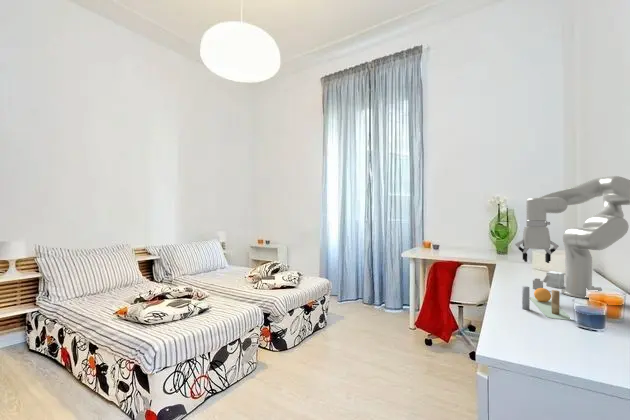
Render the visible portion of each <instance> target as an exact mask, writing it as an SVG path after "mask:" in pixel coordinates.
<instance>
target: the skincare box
mask: <svg viewBox="0 0 630 420" xmlns="http://www.w3.org/2000/svg"><path fill="white" fill-rule="evenodd" d="M545 274H546V275H547V274H548V275H550V277H549V279H548V280H547V282H546V283H545V284H546V285H545V286H546V287H551V288H555V289H556V288H557V289H561V288H564V287H565V272H560V271H554V270H550V271H547V272H546V273H545ZM546 275H545V276H546Z"/></svg>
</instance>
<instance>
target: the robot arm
mask: <svg viewBox="0 0 630 420" xmlns="http://www.w3.org/2000/svg"><path fill="white" fill-rule="evenodd" d="M600 197H602V201H603V202H602V203H603V205H602V208H601V209H600V210H599V211H597V212H596V213H595V214H593V215H591V216H590V217H588V218H587V219H586V220H585V221H584V222H583V224H582V227H571V228H568V229H566V230H565V231H564V233H563V234H562V241H563V246H564V252H565V272H564V287H565V288H564V289H561V294H562V295H565V296H569V297H575V298H582V299H586V298H585V296H586V288H587V289H588V290H598V291H597V292H602V291H603V288H602V287H601V286H597V287H596V286H594V285H593V257H592V254H591V252H590V250H591V251H602V250H605V249H607V248H609V247H611V246H612V245H613V244H615V243H616V242H617V241H620V240H621V239H622V238H623V237H624V236H625V235H627V233H628V231H629V226H630V225H629V222H628V221H627V220H626V218H624V216H625V214H624V211H623V207H622V206H630V179H628V178H626V177H622V176H617V175H614V176H613V175H612V176H605V177H597V178H592V179H591V180H588V181H586V182H583V183H580V184H578V185H575V186H573V187H569V188H565V189H562V190H559V191H554V192H550V193H547V194H544V195H542V196H540V197H529V198H528V199H526V226H524V228H523V231H522V232H523V233H522V239H521V240H519V241H518V242H516V243H514V245H515V246H516V248H517V249H518V250H519V251H520V253H522V260H523V261H524V262H525V263H528V253H527V252H528V251H529V249H531V250H532V249H533V250H544V251H545V252H546V253H545V254H544V255H545V257H544V258H545V260H544V261H545V263H547V264H550V262H551V261H552V260H551V259H552V257H551V255H552V254H553V253H554V252H556V250H558V248H559V244H556V243H555V242H553V241H552V240H551V236H550V229H549V227H548V226H550V225H551V221H548V220H547V214H560V213H563V212H565V211H566V210H567V209H568V206H573V205H574V206H575V205H581V204H584V203H587V202H590V201H592V200H595V199H597V198H600ZM521 245H522V247H523V248H522V247H521ZM551 246H552V247H551Z"/></svg>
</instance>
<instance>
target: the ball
mask: <svg viewBox="0 0 630 420" xmlns="http://www.w3.org/2000/svg"><path fill="white" fill-rule="evenodd" d="M533 297H534V298H536V299H537V300H538V301H540V302H547V301H549V300H552V292H550V291H549V290H548V289H547V288H544V287H543V288H538V289H534V292H533Z"/></svg>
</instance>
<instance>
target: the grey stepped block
mask: <svg viewBox="0 0 630 420" xmlns="http://www.w3.org/2000/svg"><path fill="white" fill-rule="evenodd" d="M549 277H550V275H548V274H547V275H545V276H544V279H543V280H541V278H534V279H532V289H533V290H536V289H538V288H544V283H545V284H546V282H547V280H548V279H549Z"/></svg>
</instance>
